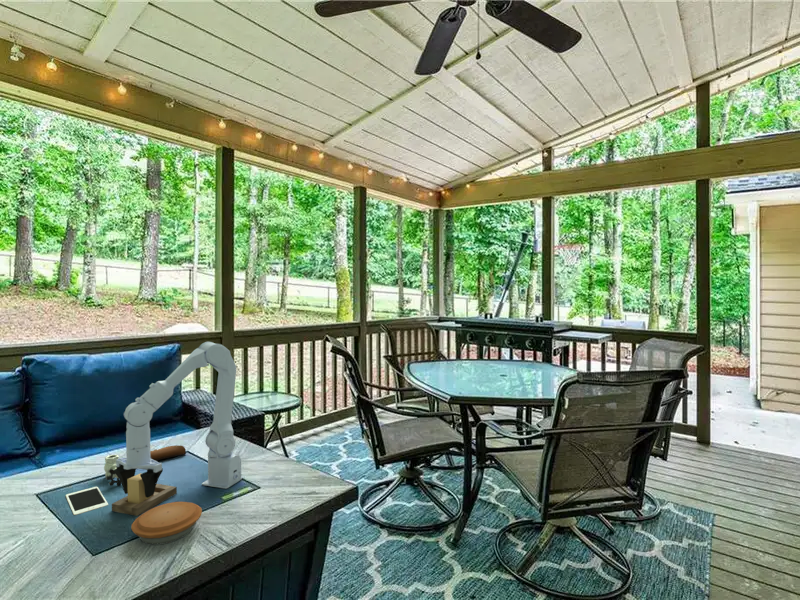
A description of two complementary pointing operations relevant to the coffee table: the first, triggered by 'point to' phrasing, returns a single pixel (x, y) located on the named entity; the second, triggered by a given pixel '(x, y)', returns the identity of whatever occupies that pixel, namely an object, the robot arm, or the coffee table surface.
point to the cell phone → (86, 500)
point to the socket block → (136, 509)
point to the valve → (111, 469)
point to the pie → (166, 522)
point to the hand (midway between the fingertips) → (139, 494)
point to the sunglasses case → (167, 452)
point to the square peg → (136, 490)
